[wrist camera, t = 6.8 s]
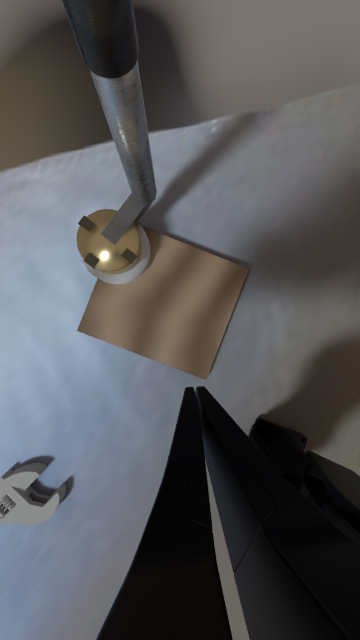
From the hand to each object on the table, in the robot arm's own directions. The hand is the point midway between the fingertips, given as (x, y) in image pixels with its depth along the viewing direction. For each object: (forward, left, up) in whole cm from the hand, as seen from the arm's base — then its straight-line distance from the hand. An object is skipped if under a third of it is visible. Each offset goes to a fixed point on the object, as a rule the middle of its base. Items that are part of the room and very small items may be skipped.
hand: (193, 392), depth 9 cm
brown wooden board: (+6, -5, -12) cm, 14 cm away
